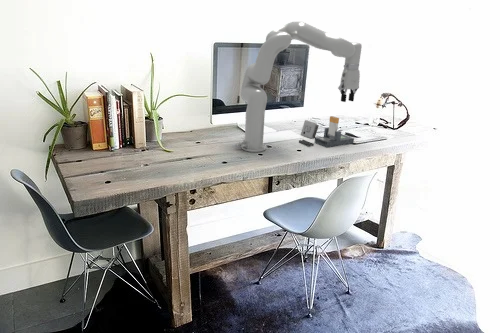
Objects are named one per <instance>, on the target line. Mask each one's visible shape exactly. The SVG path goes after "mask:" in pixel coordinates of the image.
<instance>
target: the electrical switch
mask: <svg viewBox="0 0 500 333" xmlns="http://www.w3.org/2000/svg"><path fill="white" fill-rule="evenodd" d="M319 126H320V125H319V124H317V123H316V122H315V121H310V120H307V119H304V122H303V125H302V128H301V131H300V136H302V137H306V138H308V139H315V138H316V136H317V132H318V129H319Z"/></svg>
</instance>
